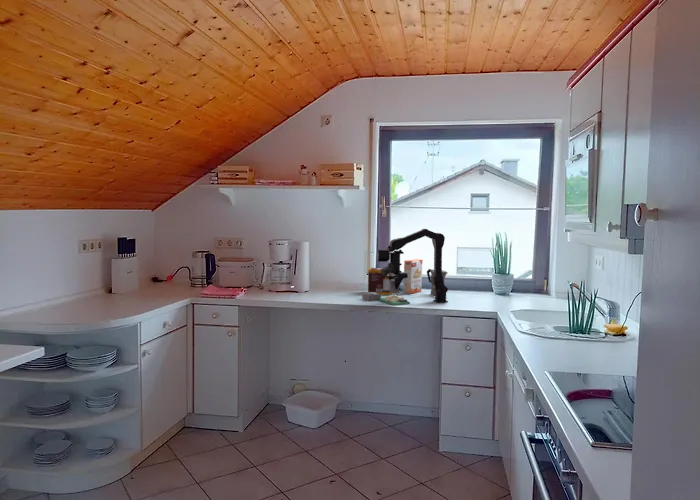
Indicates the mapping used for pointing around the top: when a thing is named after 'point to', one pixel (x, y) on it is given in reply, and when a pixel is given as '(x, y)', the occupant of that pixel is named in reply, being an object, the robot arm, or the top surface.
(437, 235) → the robot arm
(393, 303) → the board
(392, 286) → the plug
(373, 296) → the speaker
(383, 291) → the supplement box
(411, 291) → the cracker box
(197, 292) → the top surface
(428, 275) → the coffeepot
